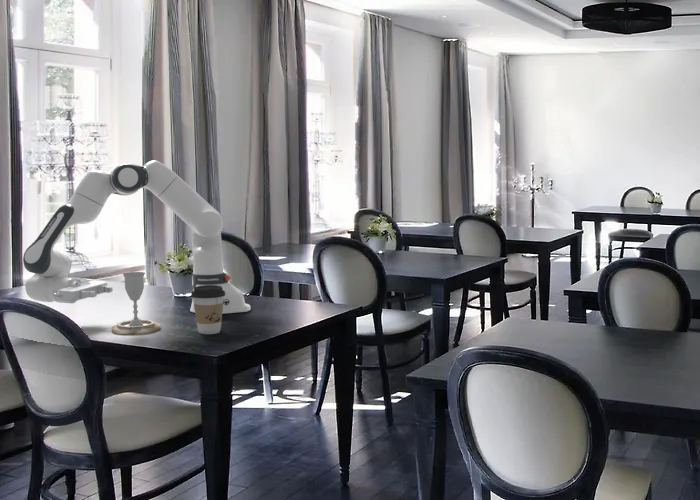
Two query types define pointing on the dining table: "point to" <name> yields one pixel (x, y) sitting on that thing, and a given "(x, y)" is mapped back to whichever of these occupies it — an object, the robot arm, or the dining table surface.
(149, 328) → the beige ring base
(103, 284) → the robot arm
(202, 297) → the coffee cup
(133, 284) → the chalice
